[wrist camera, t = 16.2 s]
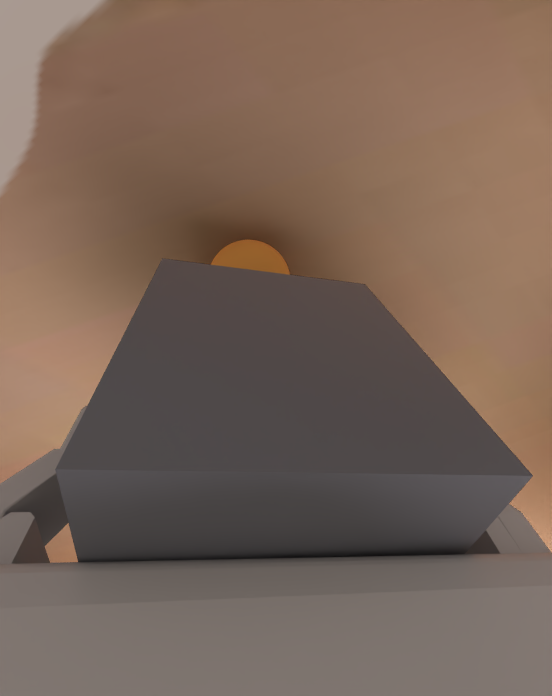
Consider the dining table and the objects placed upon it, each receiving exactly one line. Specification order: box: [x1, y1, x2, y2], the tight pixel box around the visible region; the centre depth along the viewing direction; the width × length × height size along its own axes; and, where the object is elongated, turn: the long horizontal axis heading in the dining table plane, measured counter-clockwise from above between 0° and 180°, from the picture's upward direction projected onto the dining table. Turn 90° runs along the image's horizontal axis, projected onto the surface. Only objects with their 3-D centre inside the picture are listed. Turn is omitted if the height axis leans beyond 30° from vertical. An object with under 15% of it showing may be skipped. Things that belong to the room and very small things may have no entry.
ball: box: [211, 240, 290, 275], centre depth 21 cm, size 5×5×5 cm
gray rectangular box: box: [55, 258, 533, 562], centre depth 11 cm, size 8×8×9 cm
